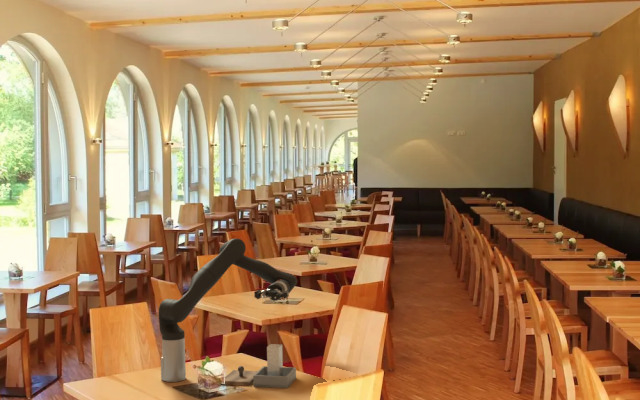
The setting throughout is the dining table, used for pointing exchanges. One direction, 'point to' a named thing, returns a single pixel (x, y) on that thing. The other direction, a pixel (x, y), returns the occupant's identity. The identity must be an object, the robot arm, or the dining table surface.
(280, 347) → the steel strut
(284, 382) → the grey tray
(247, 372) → the stud block
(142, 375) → the dining table surface
